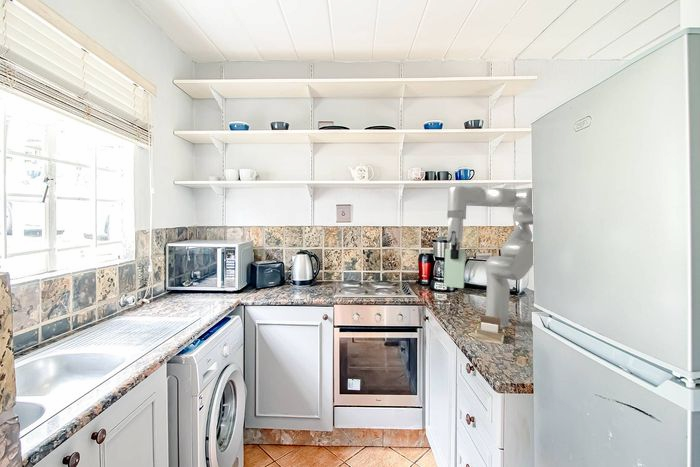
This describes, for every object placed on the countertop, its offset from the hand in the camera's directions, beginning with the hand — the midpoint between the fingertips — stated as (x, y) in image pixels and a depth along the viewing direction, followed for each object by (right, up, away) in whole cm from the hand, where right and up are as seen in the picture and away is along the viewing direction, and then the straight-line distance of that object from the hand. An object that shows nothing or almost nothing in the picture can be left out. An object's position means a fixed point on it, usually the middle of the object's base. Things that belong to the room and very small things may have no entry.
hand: (455, 258), depth 131 cm
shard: (+11, -32, +11) cm, 35 cm away
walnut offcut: (+11, -30, -9) cm, 34 cm away
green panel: (0, -12, 0) cm, 12 cm away
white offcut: (+9, -31, -12) cm, 34 cm away
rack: (+11, -32, -9) cm, 35 cm away
